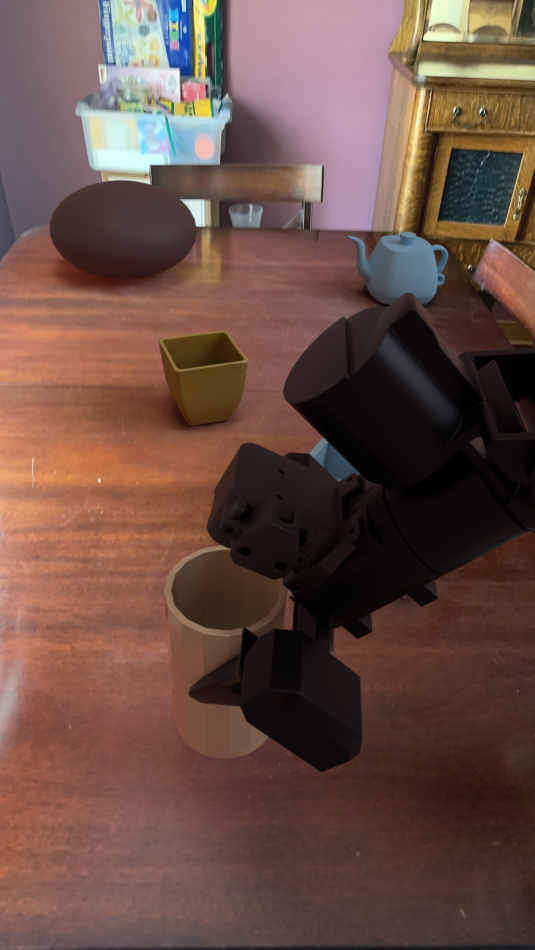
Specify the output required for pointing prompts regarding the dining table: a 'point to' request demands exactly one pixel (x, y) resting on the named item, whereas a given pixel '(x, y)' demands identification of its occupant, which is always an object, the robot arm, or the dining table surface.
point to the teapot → (401, 267)
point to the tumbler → (215, 642)
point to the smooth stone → (123, 229)
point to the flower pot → (204, 375)
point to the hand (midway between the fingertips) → (203, 645)
